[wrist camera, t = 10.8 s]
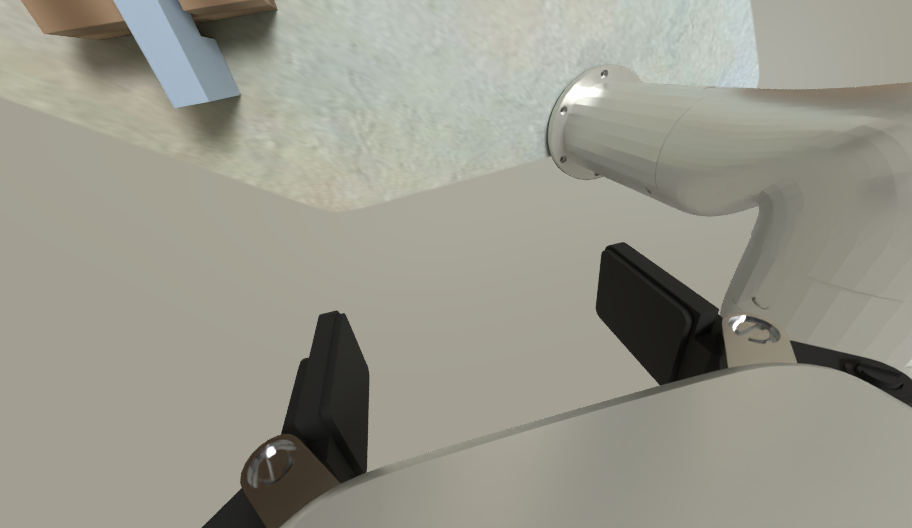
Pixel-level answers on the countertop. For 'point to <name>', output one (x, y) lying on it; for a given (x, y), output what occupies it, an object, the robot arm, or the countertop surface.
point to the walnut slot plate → (97, 17)
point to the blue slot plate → (178, 52)
